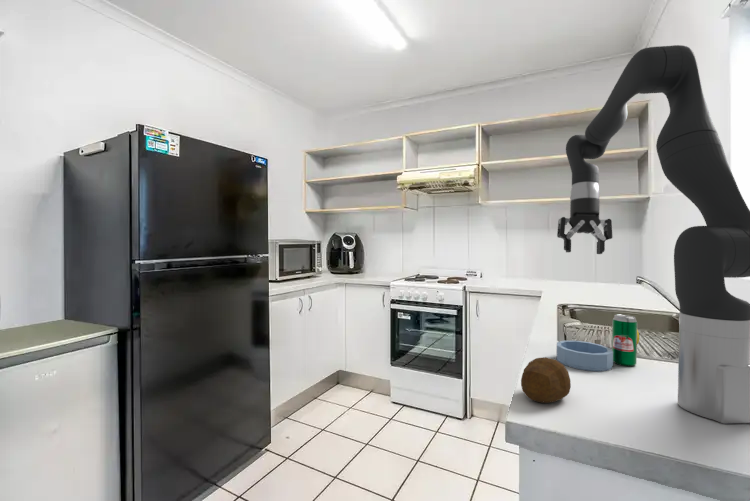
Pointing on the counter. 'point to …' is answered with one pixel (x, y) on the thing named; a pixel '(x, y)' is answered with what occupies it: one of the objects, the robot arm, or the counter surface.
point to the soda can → (624, 340)
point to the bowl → (584, 355)
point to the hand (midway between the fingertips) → (583, 253)
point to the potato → (545, 380)
